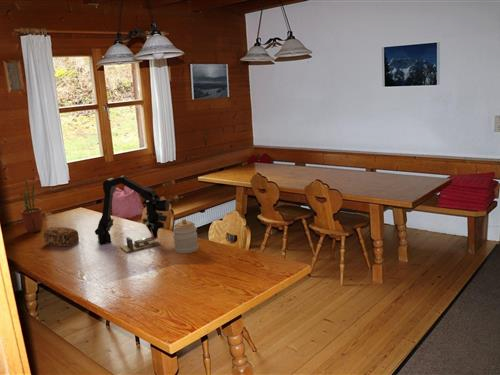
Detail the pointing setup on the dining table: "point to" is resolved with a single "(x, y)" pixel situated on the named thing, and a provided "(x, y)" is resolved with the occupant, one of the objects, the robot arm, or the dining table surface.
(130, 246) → the latch board
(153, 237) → the bolt
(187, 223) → the jar
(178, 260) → the dining table surface
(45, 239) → the bread
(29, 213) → the potted plant
